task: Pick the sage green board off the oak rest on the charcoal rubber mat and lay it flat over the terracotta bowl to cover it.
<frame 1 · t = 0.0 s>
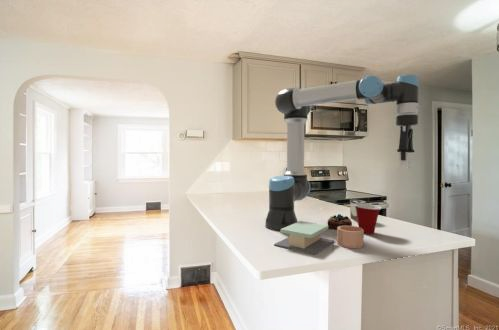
hand: (405, 168, 110), 28 cm above the worktop, tool pointing down, fingers open, 13 cm apart
food container: (359, 220, 142), on the worktop
plastic cup: (367, 233, 119), on the worktop
sheet: (305, 230, 104), point 5 cm above the worktop, touching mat
bowl: (350, 244, 103), on the worktop
pastry: (339, 227, 129), on the worktop
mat: (304, 243, 104), on the worktop
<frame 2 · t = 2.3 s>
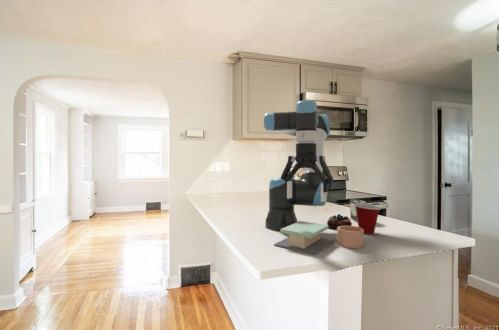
hand: (305, 199, 104), 17 cm above the worktop, tool pointing down, fingers open, 13 cm apart
nothing on the worktop moved.
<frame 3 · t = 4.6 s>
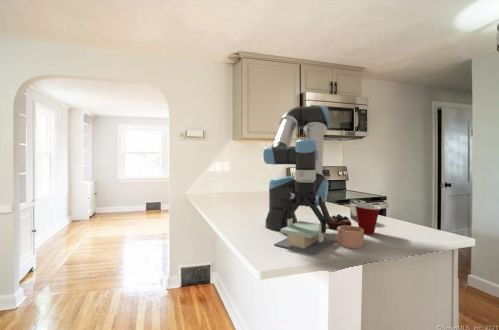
hand: (305, 238, 104), 2 cm above the worktop, tool pointing down, fingers closed on sheet, 12 cm apart
sheet: (305, 230, 104), point 5 cm above the worktop, touching gripper, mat
everything else where it was.
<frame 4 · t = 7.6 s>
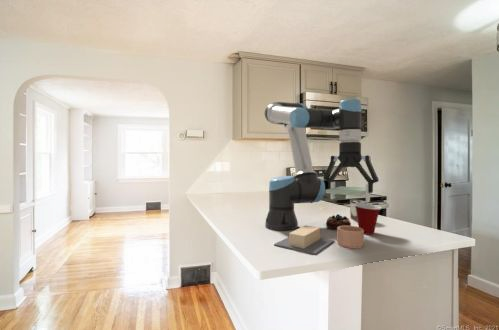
hand: (349, 200, 102), 17 cm above the worktop, tool pointing down, fingers closed on sheet, 12 cm apart
sheet: (349, 192, 102), point 20 cm above the worktop, touching gripper
everything else where it was.
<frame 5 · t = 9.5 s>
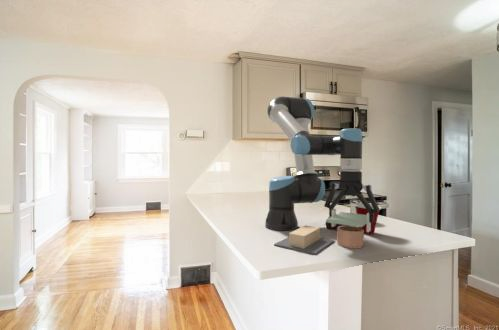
hand: (350, 228, 103), 6 cm above the worktop, tool pointing down, fingers closed on sheet, 12 cm apart
sheet: (350, 220, 103), point 9 cm above the worktop, touching gripper
when the fingers open (5 cm above the worktop, at t = 10.9 s): sheet drops 2 cm, resting on bowl.
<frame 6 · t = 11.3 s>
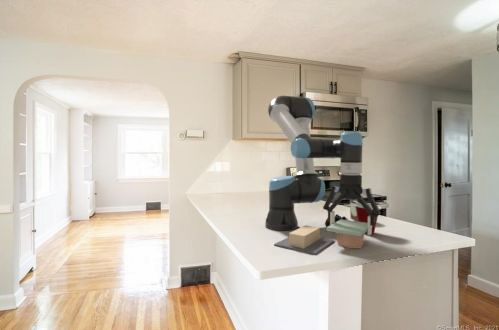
hand: (350, 231, 103), 5 cm above the worktop, tool pointing down, fingers open, 13 cm apart
sheet: (350, 228, 103), point 6 cm above the worktop, touching bowl
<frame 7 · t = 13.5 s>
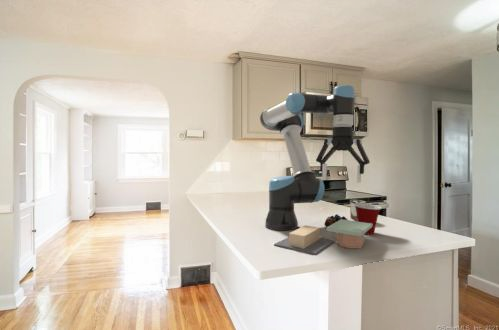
hand: (340, 181, 109), 23 cm above the worktop, tool pointing down, fingers open, 13 cm apart
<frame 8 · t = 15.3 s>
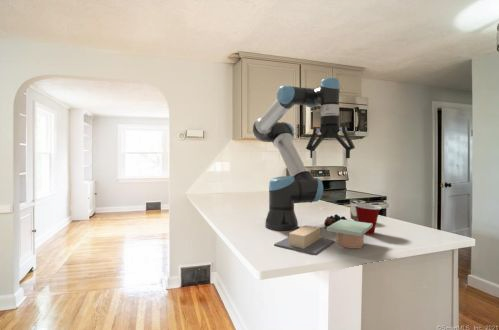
hand: (329, 166, 117), 29 cm above the worktop, tool pointing down, fingers open, 13 cm apart
at the end: sheet 0.1 cm off-centre on the bowl, point 6.0 cm above the bowl's base; sheet tilted 0°; the gripper is holding nothing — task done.
